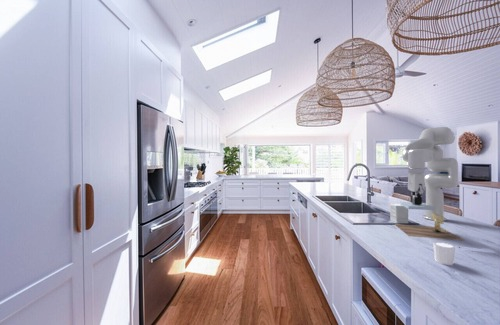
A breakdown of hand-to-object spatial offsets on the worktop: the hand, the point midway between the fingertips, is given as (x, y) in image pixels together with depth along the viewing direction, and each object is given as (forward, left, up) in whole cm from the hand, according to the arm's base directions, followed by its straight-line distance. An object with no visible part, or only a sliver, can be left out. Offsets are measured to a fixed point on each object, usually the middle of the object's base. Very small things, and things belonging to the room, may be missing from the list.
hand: (416, 203), depth 124 cm
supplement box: (-17, -3, -17) cm, 24 cm away
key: (+2, +10, -15) cm, 18 cm away
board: (+1, +4, -17) cm, 17 cm away
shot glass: (+38, -5, -17) cm, 42 cm away
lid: (0, 0, -2) cm, 2 cm away
